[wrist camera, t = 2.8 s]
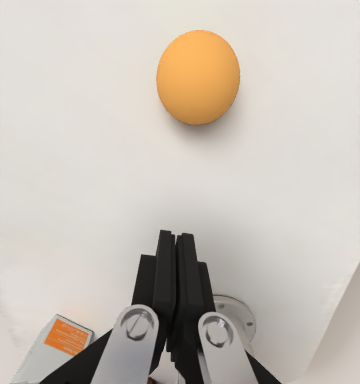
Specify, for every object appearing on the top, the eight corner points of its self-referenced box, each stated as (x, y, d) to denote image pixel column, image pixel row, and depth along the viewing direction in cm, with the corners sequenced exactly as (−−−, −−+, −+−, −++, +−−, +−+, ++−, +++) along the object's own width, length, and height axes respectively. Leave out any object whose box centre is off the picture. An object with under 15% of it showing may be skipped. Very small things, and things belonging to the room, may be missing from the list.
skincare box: (94, 330, 30) (48, 461, 19) (79, 345, 31) (27, 476, 20) (55, 312, 28) (-19, 444, 17) (41, 328, 30) (-38, 461, 19)
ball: (218, 127, 19) (235, 136, 14) (154, 114, 19) (146, 119, 13) (237, 53, 17) (267, 29, 12) (165, 35, 17) (161, 1, 11)
